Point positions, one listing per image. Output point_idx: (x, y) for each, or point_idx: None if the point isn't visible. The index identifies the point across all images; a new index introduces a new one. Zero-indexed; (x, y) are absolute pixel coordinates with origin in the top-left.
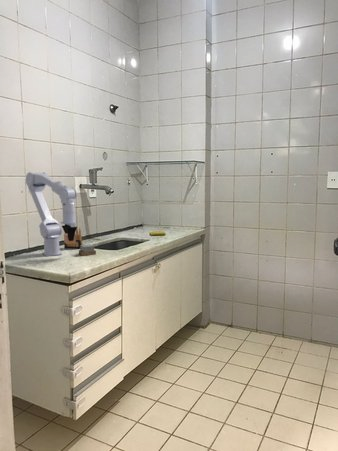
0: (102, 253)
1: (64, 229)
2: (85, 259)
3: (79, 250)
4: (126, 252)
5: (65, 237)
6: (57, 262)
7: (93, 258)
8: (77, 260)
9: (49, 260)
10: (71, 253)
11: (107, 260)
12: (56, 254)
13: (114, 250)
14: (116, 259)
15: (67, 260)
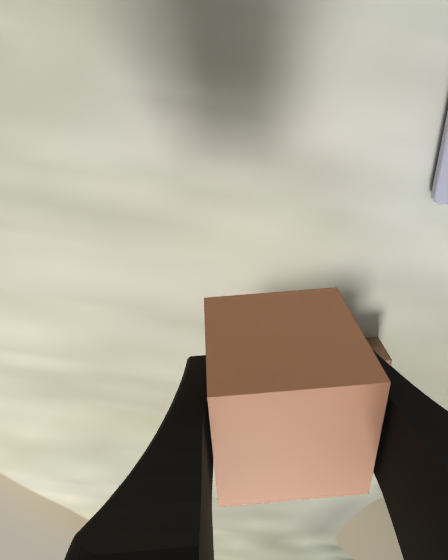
0: None
1: (439, 468)
2: (112, 343)
3: None
4: (225, 554)
5: (272, 351)
6: (66, 91)
7: (127, 394)
8: (96, 284)
9: (217, 14)
10: (431, 288)
11: (20, 451)
12: (444, 146)
13: (326, 522)
14: (36, 492)
15: (131, 206)
